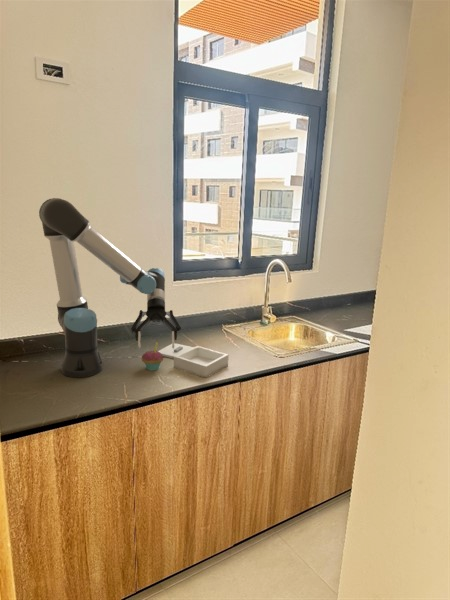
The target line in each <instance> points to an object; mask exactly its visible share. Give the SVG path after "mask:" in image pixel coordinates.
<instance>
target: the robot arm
mask: <svg viewBox="0 0 450 600" xmlns="http://www.w3.org/2000/svg"><path fill="white" fill-rule="evenodd" d="M38 212H39V213H38V214H39V215H38V216H39V219H40V221H41V224H42V229H43V230H42V231H43V236H44V237H45V238H46V239H48V241H49V246H50V251H51V256H52V262H53V268H54V274H55V279H56V286H57V289H58V290H57V291H58V295H59V296H58V297H59V300H58V301H57V303H56V307H57V322H58V323H59V326H60V327H61V329H62V331H63V333H64V342H65V343H64V344H65V353H64V356H63V357H64V358H63V361H62V364H61V373H62V374H63V375H64V376H66V377H70V378H87V377H88V378H89V377H92V376H95V375H97V374H99V373H101V372H102V371H103V366H104V365H103V360H102V358H101V355H100V353H99V350H98V325H97V324H98V318H97V313H96V312H95V311H94V310H93V309H89V305H88V299H87V298H85V297H84V296H83V292H82V288H81V287H82V286H81V280H80V275H79V274H80V273H79V266H78V261H77V256H76V249H75V248H76V247H75V242H77V243H78V244H79V245H80V246H81V247H83V248H84V249H86V250H87V251H88V252H89V253H91V254H92V255H93V256H94V257H96V258H97V259H98V260H100V261H101V262H102V263H103V264H104V265H106V266H107V267H108V268H110V269H111V270H112V271H113V272H115V273H116V275H118V276H119V280H120V282H121V283H122V284H125V285H130V286H131V287H133V288H135V289H136V290H137V291H138V292H139V293H141V294H144V295H147V298H146V301H147V303H146V305H147V306H146V308H147V309H146V311H143V310H142V309H141V310H139V312H138V316H137V318H136V319H135V321H134V322H133V324H132V326H131V328H130V332H131V333H134V334H135V341H137V343H138V344H137V349H138V350H141V331H142V330H143V329H145V327H146V326H148V324H150V322H152V323H160V322H162V323H163V324H164V325H166V327H168V329H170V332H171V344H172V348H174V343H175V341H177V340H178V333H181V332H182V327H181V325H180V324H179V322H178V321H177V319H176V317H175V315H174V312H173V309H170V310H168V311H167V310H166V302H165V301H166V293H165V292H166V291H165V287H166V286H165V285H166V277H165V272H164V271H163V270H162V268H158V267H152V268H150V269H149V270H144V269H143V268H141V267H140V266H139V265H138V264H137V263H135V262H134V261H133V260H132V259H131V258H130V257H128V256H127V255H126V254H125V253H123V251H121V250H120V249H119V248H117V247H116V246H115V245H114V244H113V243H112V242H111V241H109V240H108V239H107V238H106V237H104V236H103V235H102V234H101V233H100V232H98V230H96V229H95V228H93V227H92V225H91V223H90V221H89V219H87V218H86V217H85V216H84V215H83V214H82V213H81V212H80V211H79V210H78V209H77V208H76V207H75V206H74V205H73V204H72V203H71V202H69V201H68V200H65V199H62V198H57V197H52V198H49V199H47V200H45V201H44V202H43V203H42V204H41V205H40V208H39V211H38ZM145 316H146V317H145ZM166 316H167V317H169V319H170V320H171V321H169V319H167V317H166ZM144 317H145V318H146V319H144V320H143V321H142V319H143V318H144ZM141 321H142V322H141ZM140 322H141V323H140Z"/></svg>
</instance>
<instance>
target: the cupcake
mask: <svg viewBox="0 0 450 600" xmlns="http://www.w3.org/2000/svg"><path fill="white" fill-rule="evenodd" d="M157 349H158V341H155V345H154V350H149V351H146V352H144V353H143V354H142V356H141V361H142V362H143V363H144V364H145V367H146V369H147V370H148V371H157V370H159V368H160V365H161V363H162V362H163V360H164V357H165V356H163V355H162V354H161V353H160V352H158V351H159V350H158V351H157Z"/></svg>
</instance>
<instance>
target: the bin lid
mask: <svg viewBox="0 0 450 600" xmlns="http://www.w3.org/2000/svg"><path fill="white" fill-rule="evenodd" d="M194 347H195V346H189V345H185V344H179V343H175V342H174V348H172V343H171V344H169V345H167V346H165V347H163V348H160V350H158V352H160V353H161V354H162V355H163V356H164V357H165V358H166V357H167V358H170V359H174V356H176V355H178V354H180V353H183V352H185V351H187V350H189V349H192V348H194Z"/></svg>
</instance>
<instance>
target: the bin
mask: <svg viewBox="0 0 450 600" xmlns="http://www.w3.org/2000/svg"><path fill="white" fill-rule="evenodd" d="M193 347H194V348H192V349H189V350H187V351H185V352H183V353H180V354H178V355H176V356H174V358H173V368H174V369H177V370H181V371H182V372H186V373H189V374H192V375H195V376H198V377H201V376H202V378H204V377H205V378H204V379H207V378H208V376H209V375H210V376H212V375H214V374H215V372H216V373H217V372H219V371H221V370H223V369H224V368H227V366H229V354H228V353H225V352H221V351H217V350H215V349H210V348H207V347H203V346H200V345H196V346H193ZM213 373H214V374H213ZM211 374H212V375H211ZM210 376H209V377H210ZM206 377H207V378H206Z"/></svg>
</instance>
